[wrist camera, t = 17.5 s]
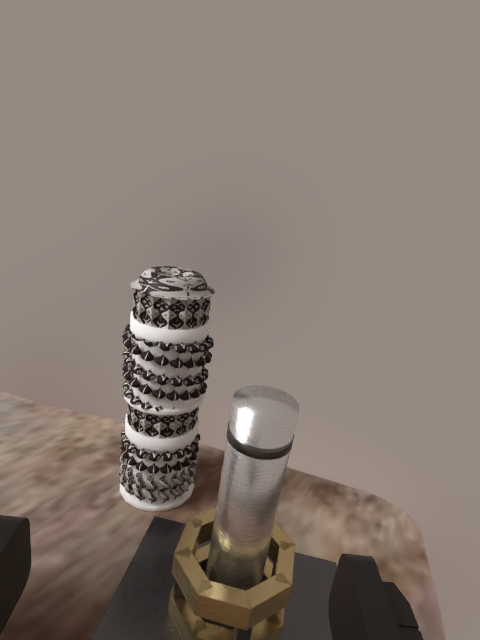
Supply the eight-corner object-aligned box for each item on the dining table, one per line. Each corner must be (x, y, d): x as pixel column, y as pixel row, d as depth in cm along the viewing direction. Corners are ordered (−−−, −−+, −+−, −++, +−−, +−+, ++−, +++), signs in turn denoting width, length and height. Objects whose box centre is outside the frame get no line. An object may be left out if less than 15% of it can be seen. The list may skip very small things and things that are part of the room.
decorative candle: (106, 512, 44) (114, 277, 36) (124, 456, 52) (134, 257, 44) (194, 517, 44) (221, 289, 37) (198, 461, 53) (220, 267, 45)
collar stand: (77, 679, 29) (78, 600, 27) (153, 528, 42) (158, 466, 40) (338, 763, 27) (364, 684, 24) (333, 574, 40) (349, 511, 38)
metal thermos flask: (193, 626, 32) (226, 411, 26) (208, 575, 36) (239, 379, 30) (250, 642, 32) (298, 427, 25) (259, 589, 36) (301, 393, 30)
